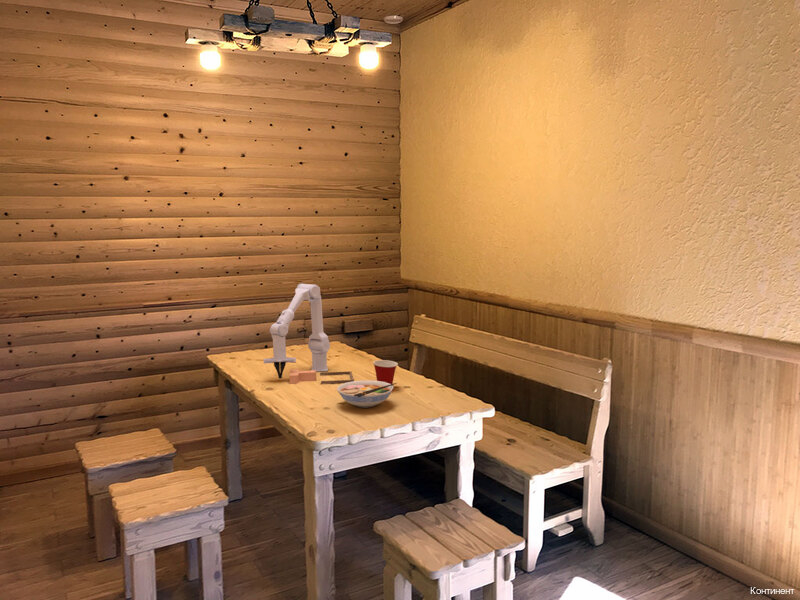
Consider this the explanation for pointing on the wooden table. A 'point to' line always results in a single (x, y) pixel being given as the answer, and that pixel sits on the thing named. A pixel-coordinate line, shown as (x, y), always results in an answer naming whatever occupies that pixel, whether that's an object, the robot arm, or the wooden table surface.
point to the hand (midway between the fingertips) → (280, 378)
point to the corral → (337, 380)
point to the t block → (301, 376)
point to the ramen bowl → (365, 392)
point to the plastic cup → (385, 370)
